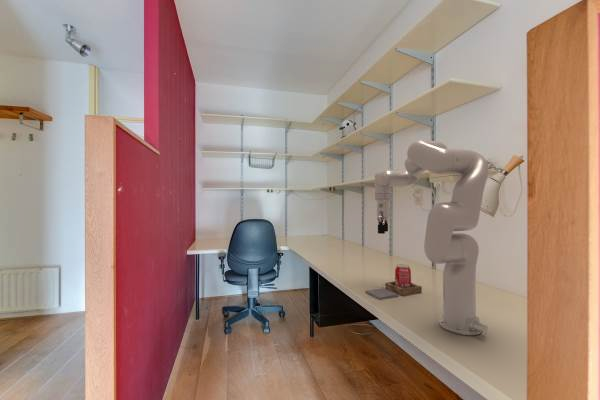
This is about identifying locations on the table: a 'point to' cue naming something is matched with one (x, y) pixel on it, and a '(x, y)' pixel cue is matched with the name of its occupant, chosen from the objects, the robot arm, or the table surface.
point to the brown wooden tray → (403, 289)
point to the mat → (381, 293)
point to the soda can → (402, 276)
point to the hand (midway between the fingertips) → (383, 232)
